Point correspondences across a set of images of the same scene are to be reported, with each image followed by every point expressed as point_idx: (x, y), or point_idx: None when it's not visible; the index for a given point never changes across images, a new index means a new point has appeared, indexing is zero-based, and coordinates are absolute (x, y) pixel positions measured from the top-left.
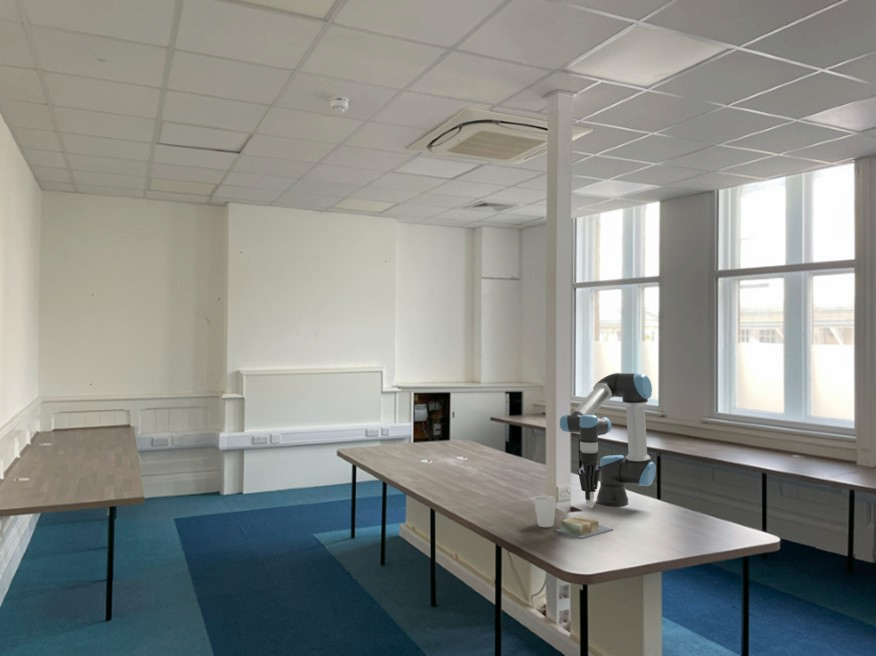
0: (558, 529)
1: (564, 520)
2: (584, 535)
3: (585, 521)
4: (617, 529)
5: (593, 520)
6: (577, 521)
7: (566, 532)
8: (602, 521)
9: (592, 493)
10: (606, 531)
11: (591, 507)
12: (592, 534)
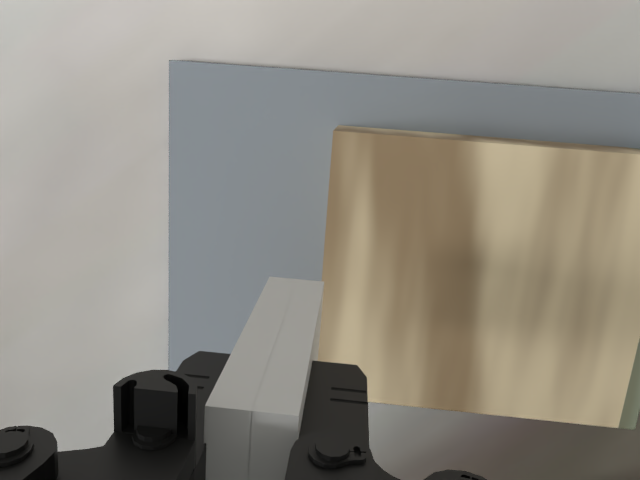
0: None
1: (596, 411)
2: (593, 120)
3: (461, 229)
4: (112, 52)
5: (352, 190)
6: (530, 291)
7: None
8: (17, 309)
9: (234, 391)
10: (278, 68)
11: (311, 281)
12: (501, 85)
